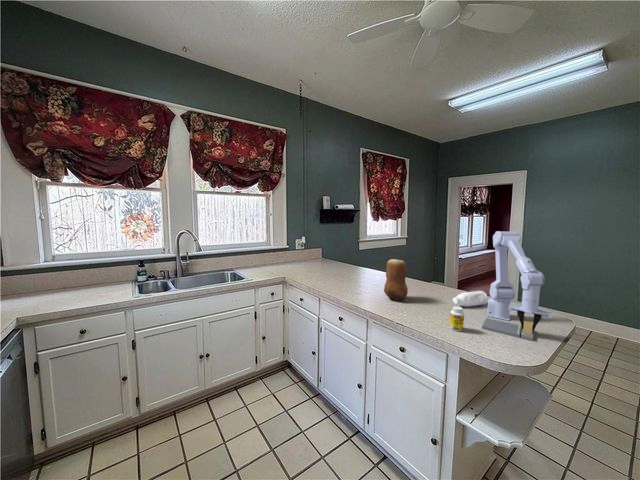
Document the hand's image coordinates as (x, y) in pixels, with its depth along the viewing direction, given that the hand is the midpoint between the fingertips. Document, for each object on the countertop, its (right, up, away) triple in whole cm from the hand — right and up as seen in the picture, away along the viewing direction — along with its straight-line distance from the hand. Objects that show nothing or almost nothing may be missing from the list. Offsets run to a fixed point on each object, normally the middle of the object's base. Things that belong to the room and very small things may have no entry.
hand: (527, 329), depth 116 cm
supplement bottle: (-29, -2, +6) cm, 29 cm away
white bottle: (-5, +1, +35) cm, 35 cm away
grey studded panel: (-7, -2, +6) cm, 10 cm away
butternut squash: (-45, +2, +47) cm, 65 cm away
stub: (0, -2, 0) cm, 2 cm away
